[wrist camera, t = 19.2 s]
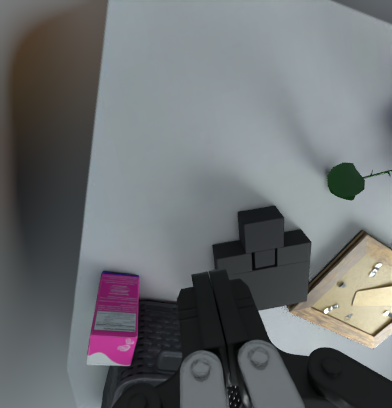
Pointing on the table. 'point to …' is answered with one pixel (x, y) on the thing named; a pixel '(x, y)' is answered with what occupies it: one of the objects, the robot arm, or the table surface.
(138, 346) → the storage bin
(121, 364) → the supplement box
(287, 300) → the base pad
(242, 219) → the small pad
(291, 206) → the table surface
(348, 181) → the flower
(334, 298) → the picture frame
